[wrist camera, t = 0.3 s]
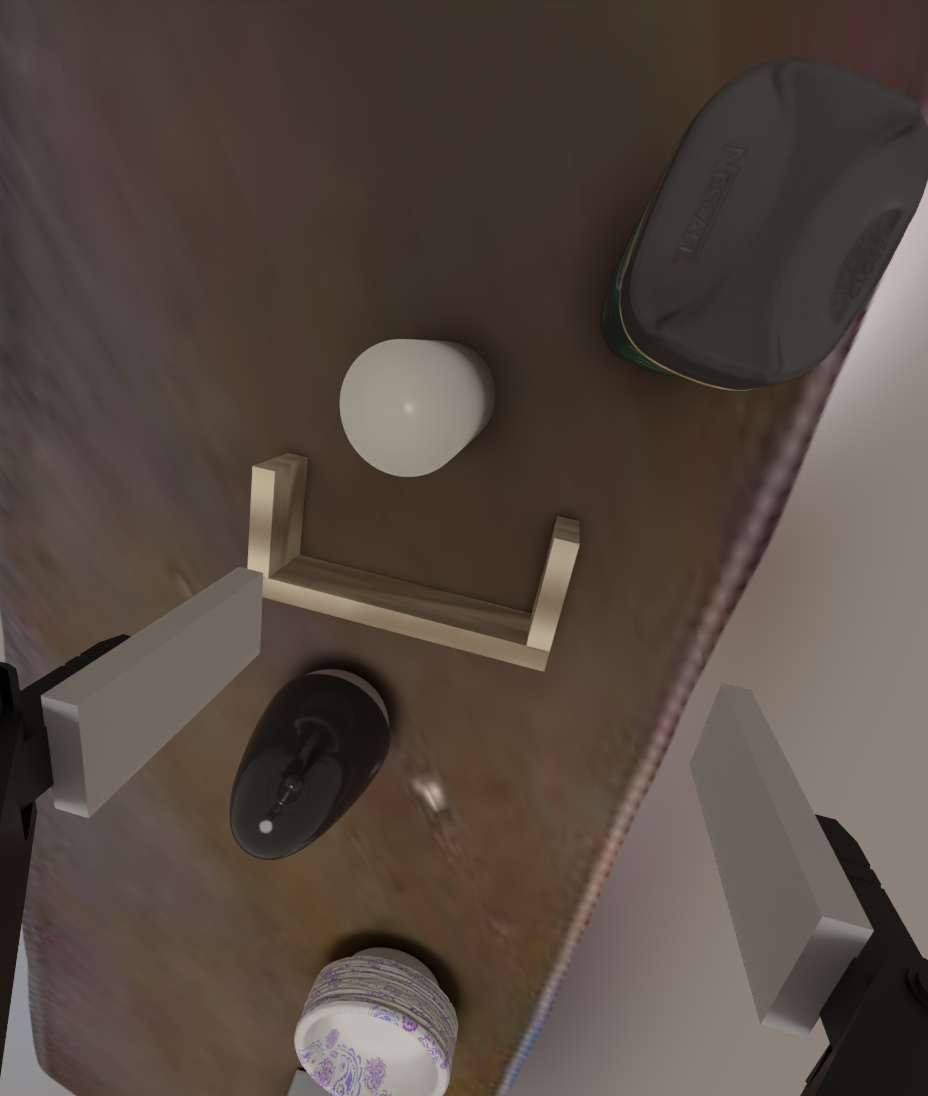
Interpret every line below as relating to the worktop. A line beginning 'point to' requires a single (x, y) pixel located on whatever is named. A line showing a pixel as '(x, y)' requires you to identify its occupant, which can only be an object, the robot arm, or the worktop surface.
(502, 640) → the rest cradle
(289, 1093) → the tea box
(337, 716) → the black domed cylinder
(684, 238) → the coffee jar
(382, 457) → the white domed cylinder
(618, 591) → the worktop surface
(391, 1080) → the paper bowls
